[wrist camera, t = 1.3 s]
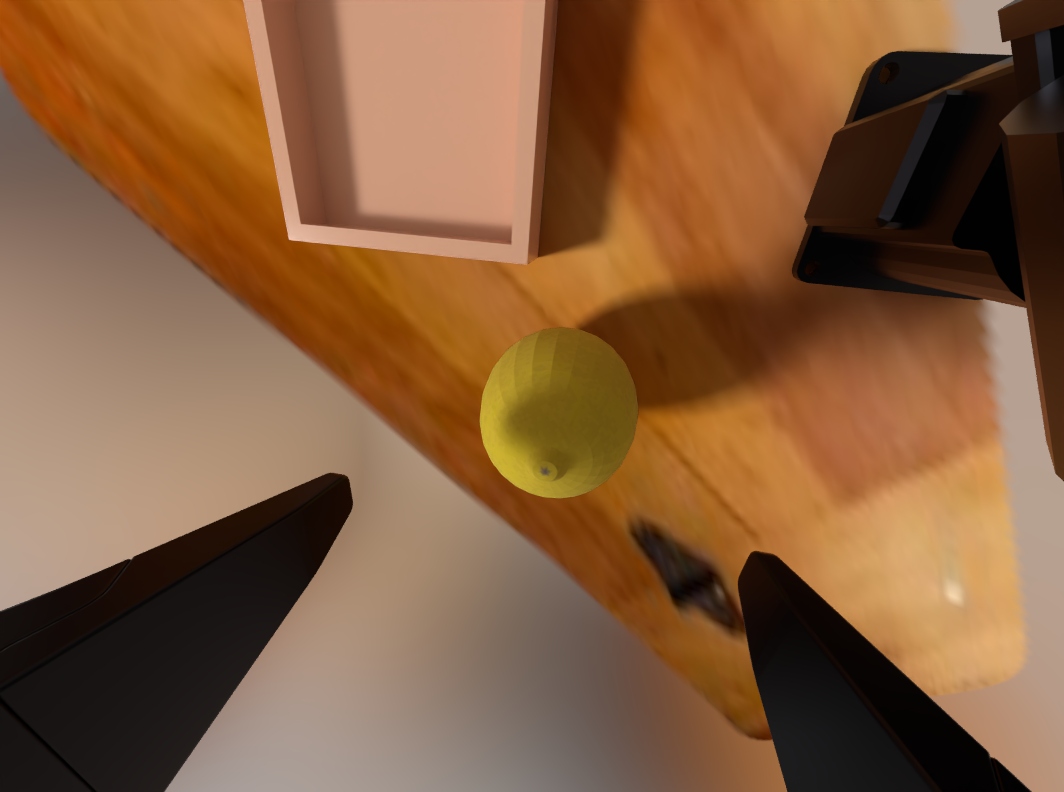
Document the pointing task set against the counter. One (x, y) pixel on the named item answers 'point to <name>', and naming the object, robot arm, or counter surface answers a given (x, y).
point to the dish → (409, 121)
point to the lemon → (559, 412)
